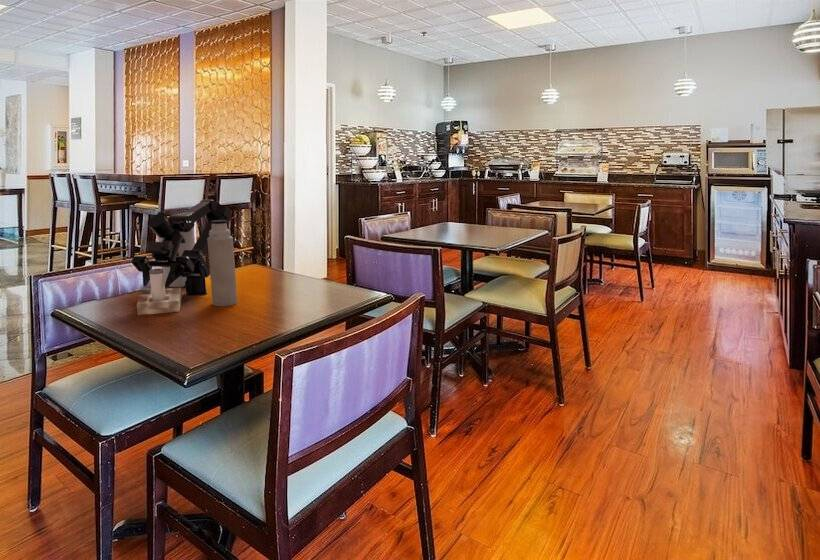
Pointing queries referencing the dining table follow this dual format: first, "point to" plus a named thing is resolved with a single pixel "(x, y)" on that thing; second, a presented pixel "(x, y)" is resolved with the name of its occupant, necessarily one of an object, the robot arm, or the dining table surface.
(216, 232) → the thermos bottle
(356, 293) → the dining table surface
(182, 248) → the cylinder vase
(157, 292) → the plug
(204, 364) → the dining table surface
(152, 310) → the socket board
